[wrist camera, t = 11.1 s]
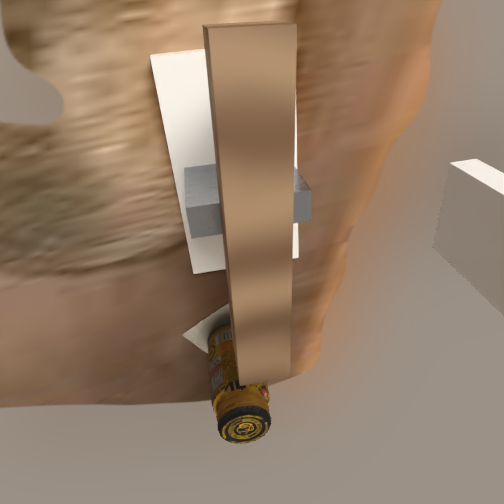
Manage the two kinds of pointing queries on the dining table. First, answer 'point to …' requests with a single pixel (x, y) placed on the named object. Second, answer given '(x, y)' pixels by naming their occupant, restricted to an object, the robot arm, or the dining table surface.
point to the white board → (192, 139)
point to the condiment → (230, 382)
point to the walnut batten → (255, 185)
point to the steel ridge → (208, 207)
